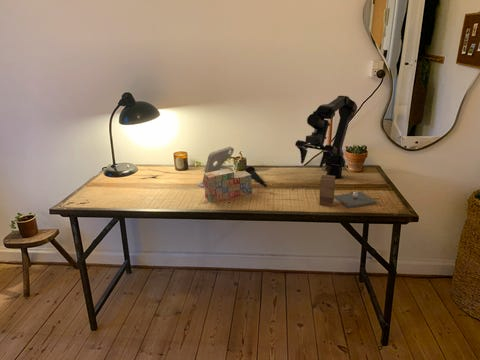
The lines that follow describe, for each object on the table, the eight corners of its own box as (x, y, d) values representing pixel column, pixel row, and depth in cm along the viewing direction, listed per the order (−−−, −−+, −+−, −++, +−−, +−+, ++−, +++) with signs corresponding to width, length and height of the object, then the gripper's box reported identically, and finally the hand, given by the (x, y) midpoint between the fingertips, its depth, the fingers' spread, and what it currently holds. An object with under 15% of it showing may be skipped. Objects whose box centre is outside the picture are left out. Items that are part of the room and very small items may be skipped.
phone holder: (221, 175, 211) (219, 142, 204) (235, 180, 205) (234, 146, 198) (197, 185, 199) (194, 150, 192) (211, 190, 193) (209, 154, 186)
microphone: (268, 191, 197) (250, 174, 213) (272, 181, 195) (253, 164, 211) (259, 190, 194) (241, 173, 210) (263, 180, 193) (244, 163, 208)
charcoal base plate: (360, 193, 185) (360, 191, 184) (376, 203, 174) (376, 201, 174) (333, 197, 181) (334, 195, 180) (348, 208, 170) (348, 206, 170)
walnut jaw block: (320, 199, 179) (322, 174, 175) (333, 201, 177) (335, 175, 173) (319, 205, 174) (320, 179, 170) (332, 206, 172) (333, 180, 168)
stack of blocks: (245, 188, 193) (245, 164, 189) (252, 193, 188) (251, 168, 184) (204, 197, 184) (203, 172, 180) (210, 202, 179) (208, 177, 175)
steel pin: (355, 197, 178) (356, 190, 177) (358, 199, 176) (358, 191, 175) (351, 198, 178) (352, 190, 176) (354, 199, 176) (354, 192, 175)
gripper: (294, 124, 181) (285, 157, 180) (332, 130, 170) (323, 165, 169) (304, 131, 190) (295, 163, 189) (341, 137, 179) (332, 170, 178)
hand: (311, 165), depth 181 cm, fingers open, 9 cm apart
